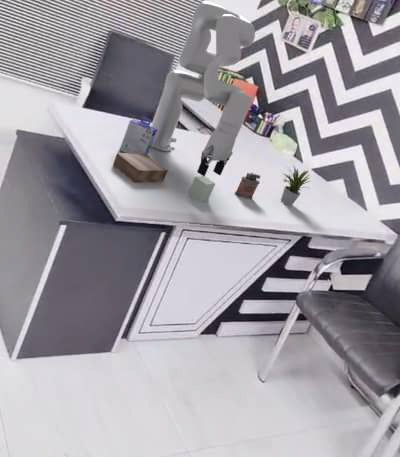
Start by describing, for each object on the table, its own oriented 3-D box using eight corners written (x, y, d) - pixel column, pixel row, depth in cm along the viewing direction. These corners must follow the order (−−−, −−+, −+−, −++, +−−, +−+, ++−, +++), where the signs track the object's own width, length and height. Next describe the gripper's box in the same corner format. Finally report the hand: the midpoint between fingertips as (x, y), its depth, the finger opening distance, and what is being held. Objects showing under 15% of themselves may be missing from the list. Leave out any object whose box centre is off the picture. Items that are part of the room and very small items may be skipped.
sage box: (196, 193, 188) (203, 175, 185) (207, 200, 185) (215, 183, 183) (187, 194, 183) (194, 176, 181) (198, 202, 181) (206, 184, 178)
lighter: (236, 196, 201) (247, 173, 197) (233, 192, 204) (243, 169, 200) (253, 199, 206) (264, 177, 202) (249, 195, 208) (259, 173, 204)
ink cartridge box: (147, 158, 199) (160, 123, 193) (142, 161, 194) (156, 125, 188) (124, 147, 200) (136, 112, 194) (118, 150, 195) (131, 114, 189)
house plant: (276, 191, 228) (293, 157, 222) (304, 206, 224) (322, 173, 218) (266, 196, 216) (283, 161, 209) (295, 213, 212) (314, 178, 205)
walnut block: (141, 166, 190) (146, 154, 188) (163, 182, 184) (168, 170, 182) (112, 166, 179) (117, 153, 177) (134, 183, 174) (139, 170, 172)
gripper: (233, 124, 182) (214, 168, 189) (205, 121, 168) (186, 169, 175) (250, 133, 179) (230, 178, 185) (222, 132, 165) (202, 180, 171)
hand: (208, 173), depth 180 cm, fingers open, 9 cm apart
